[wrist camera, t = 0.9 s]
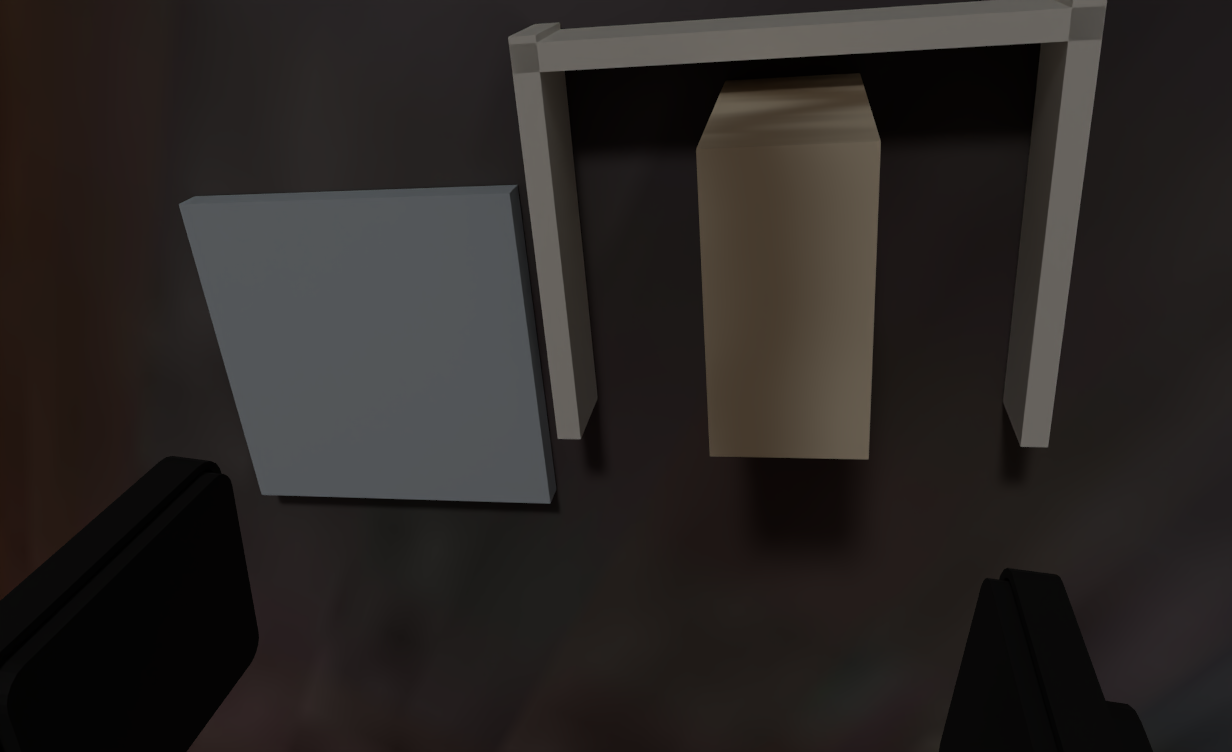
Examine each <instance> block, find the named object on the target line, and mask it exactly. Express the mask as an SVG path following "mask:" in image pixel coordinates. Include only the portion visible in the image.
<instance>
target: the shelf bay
mask: <svg viewBox="0 0 1232 752" xmlns="http://www.w3.org/2000/svg"><path fill="white" fill-rule="evenodd" d="M1106 5H1107V0H990V1H975V2H960V3H945V4H931V5H916V6H901V7H886V8H871V9H856V10H841V11H826V12H811V13H796V14H782V15H767V16H752V17H737V18H722V19H707V20H692V21H677V22H662V23H648V24H633V25H618V26H603V27H588V28H573V29H560V22H559V23H545V24H534V25H532V26H530V27H528V28H526V29H524V30H522V31H519V32H517V33H515V34H513V35H511V36H509V37H508V40H509V48H510V56H511V64H512V72H513V80H514V88H515V97H516V105H517V113H518V121H519V129H520V137H521V145H522V153H523V161H524V169H525V177H526V185H527V193H528V202H529V210H530V218H531V226H532V234H533V242H534V250H535V258H536V266H537V274H538V282H539V290H540V299H541V307H542V315H543V323H544V331H545V339H546V347H547V355H548V363H549V371H550V379H551V387H552V395H553V404H554V412H555V420H556V428H557V436H558V439H581V437H582V435H583V433H584V430H585V428H586V425H587V423H588V420H589V418H590V416H591V413H592V411H593V408H594V406H595V403H596V401H597V399H598V396H597V386H596V377H595V367H594V357H593V347H592V337H591V327H590V317H589V307H588V297H587V287H586V277H585V267H584V258H583V248H582V238H581V228H580V218H579V208H578V198H577V188H576V178H575V168H574V158H573V148H572V139H571V129H570V119H569V109H568V99H567V89H566V79H565V71H568V70H585V69H603V68H620V67H637V66H654V65H671V64H688V63H705V62H722V61H739V60H756V59H773V58H790V57H807V56H825V55H842V54H859V53H876V52H893V51H910V50H927V49H944V48H961V47H978V46H995V45H1012V44H1029V43H1041V48H1040V57H1039V67H1038V76H1037V86H1036V95H1035V104H1034V114H1033V123H1032V133H1031V142H1030V152H1029V161H1028V170H1027V180H1026V189H1025V199H1024V208H1023V217H1022V227H1021V236H1020V246H1019V255H1018V264H1017V274H1016V283H1015V293H1014V302H1013V311H1012V321H1011V330H1010V340H1009V349H1008V358H1007V368H1006V377H1005V387H1004V396H1003V403H1004V406H1005V408H1006V411H1007V413H1008V416H1009V419H1010V421H1011V424H1012V426H1013V429H1014V431H1015V434H1016V437H1017V439H1018V442H1019V444H1020V447H1048V443H1049V435H1050V428H1051V420H1052V413H1053V405H1054V398H1055V390H1056V383H1057V375H1058V367H1059V360H1060V352H1061V345H1062V337H1063V330H1064V322H1065V315H1066V307H1067V300H1068V292H1069V284H1070V277H1071V269H1072V262H1073V254H1074V247H1075V239H1076V232H1077V224H1078V216H1079V209H1080V201H1081V194H1082V186H1083V179H1084V171H1085V164H1086V156H1087V148H1088V141H1089V133H1090V126H1091V118H1092V111H1093V103H1094V96H1095V88H1096V81H1097V73H1098V65H1099V58H1100V50H1101V43H1102V35H1103V28H1104V20H1105V13H1106Z"/></svg>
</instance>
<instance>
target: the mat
mask: <svg viewBox="0 0 1232 752" xmlns="http://www.w3.org/2000/svg"><path fill="white" fill-rule="evenodd" d="M179 207H180V211H181V214H182V218H183V221H184V225H185V228H186V232H187V235H188V239H189V242H190V246H191V249H192V253H193V256H194V260H195V263H196V267H197V270H198V274H199V277H200V281H201V284H202V288H203V291H204V295H205V298H206V301H207V305H208V308H209V312H210V315H211V319H212V322H213V326H214V329H215V333H216V336H217V340H218V343H219V347H220V350H221V354H222V357H223V361H224V364H225V368H226V371H227V375H228V378H229V382H230V385H231V389H232V392H233V396H234V399H235V403H236V406H237V410H238V413H239V417H240V420H241V424H242V427H243V431H244V434H245V438H246V441H247V445H248V448H249V452H250V455H251V459H252V462H253V466H254V469H255V473H256V476H257V480H258V483H259V486H260V490H261V493H262V495H285V496H318V497H351V498H383V499H416V500H449V501H482V502H515V503H547V504H551V501H552V499H553V496H554V494H555V492H556V481H555V474H554V466H553V458H552V450H551V442H550V435H549V427H548V419H547V411H546V403H545V395H544V388H543V380H542V372H541V364H540V356H539V348H538V341H537V333H536V325H535V317H534V309H533V302H532V294H531V286H530V278H529V270H528V262H527V255H526V247H525V239H524V231H523V223H522V215H521V208H520V200H519V192H518V185H501V186H473V187H445V188H417V189H388V190H360V191H332V192H304V193H276V194H247V195H219V196H194V197H192V198H190V199H188V200H186V201H184V202H182V203H180V204H179Z"/></svg>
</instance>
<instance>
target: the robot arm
mask: <svg viewBox="0 0 1232 752" xmlns="http://www.w3.org/2000/svg"><path fill="white" fill-rule="evenodd" d="M258 640H259V634H258V627H257V621H256V616H255V610H254V605H253V599H252V594H251V588H250V582H249V577H248V571H247V566H246V560H245V555H244V549H243V543H242V538H241V532H240V527H239V521H238V516H237V510H236V504H235V499H234V493H233V488H232V484H231V480H230V479H229V477H228V476H226V475H224V474H221V471H220V468H219V467H218V466H217V464H216V463H214V462H212V461H206V460H198V459H191V458H183V457H176V456H170V457H166V458H164V459H163V460H161V461H160V462H159V463H158V464H156V465H155V466H154V467H153V468H152V469H151V470H150V471H148V472H147V473H146V474H145V475H144V476H143V477H142V478H140V479H139V480H138V481H137V482H136V483H135V484H134V485H132V486H131V487H130V488H129V489H128V490H127V491H126V492H124V493H123V494H122V495H121V496H120V497H119V498H118V499H116V500H115V501H114V502H113V503H112V504H111V505H109V506H108V507H107V508H106V509H105V510H104V511H103V512H101V513H100V514H99V515H98V516H97V517H96V518H95V519H93V520H92V521H91V522H90V523H89V524H88V525H87V526H85V527H84V528H83V529H82V530H81V531H80V532H79V533H77V534H76V535H75V536H74V537H73V538H72V539H71V540H69V541H68V542H67V543H66V544H65V545H64V546H63V547H61V548H60V549H59V550H58V551H57V552H56V553H55V554H53V555H52V556H51V557H50V558H49V559H48V560H47V561H45V562H44V563H43V564H42V565H41V566H40V567H39V568H37V569H36V570H35V571H34V572H33V573H32V574H30V575H29V576H28V577H27V578H26V579H25V580H24V581H22V582H21V583H20V584H19V585H18V586H17V587H16V588H14V589H13V590H12V591H11V592H10V593H9V594H8V595H6V596H5V597H4V598H3V599H2V600H1V601H0V752H187V750H188V749H189V747H190V746H191V745H192V743H193V742H194V741H195V739H196V738H197V736H198V735H199V734H200V732H201V731H202V730H203V728H204V727H205V725H206V724H207V723H208V721H209V720H210V719H211V717H212V716H213V714H214V713H215V712H216V710H217V709H218V708H219V706H220V705H221V703H222V702H223V701H224V699H225V698H226V697H227V695H228V694H229V692H230V691H231V690H232V688H233V687H234V686H235V684H236V683H237V681H238V680H239V679H240V677H241V676H242V675H243V673H244V672H245V670H246V669H247V668H248V666H249V665H250V663H251V662H252V660H253V658H254V656H255V653H256V650H257V647H258ZM939 752H1153V750H1152V748H1151V745H1150V743H1149V740H1148V738H1147V735H1146V733H1145V730H1144V728H1143V725H1142V723H1141V721H1140V719H1139V717H1138V715H1137V713H1136V711H1135V710H1134V709H1133V708H1132V707H1130V706H1129V705H1128V704H1123V703H1116V702H1110V701H1105V698H1104V695H1103V693H1102V690H1101V687H1100V684H1099V682H1098V679H1097V676H1096V673H1095V670H1094V668H1093V665H1092V662H1091V659H1090V657H1089V654H1088V651H1087V648H1086V646H1085V643H1084V640H1083V637H1082V634H1081V632H1080V629H1079V626H1078V623H1077V621H1076V618H1075V615H1074V612H1073V609H1072V607H1071V604H1070V601H1069V598H1068V596H1067V593H1066V590H1065V587H1064V585H1063V582H1062V580H1061V578H1060V577H1059V576H1058V575H1055V574H1048V573H1040V572H1033V571H1026V570H1018V569H1011V568H1006V569H1004V570H1003V572H1002V574H1001V576H1000V579H999V580H997V579H990V578H986V579H985V580H984V581H983V583H982V586H981V589H980V593H979V597H978V601H977V605H976V609H975V612H974V616H973V620H972V624H971V628H970V632H969V635H968V639H967V643H966V647H965V651H964V655H963V658H962V662H961V666H960V670H959V674H958V678H957V681H956V685H955V689H954V693H953V697H952V701H951V704H950V708H949V712H948V716H947V720H946V724H945V727H944V731H943V735H942V739H941V743H940V748H939Z"/></svg>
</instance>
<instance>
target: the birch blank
mask: <svg viewBox="0 0 1232 752" xmlns="http://www.w3.org/2000/svg"><path fill="white" fill-rule="evenodd" d="M880 150H881V140H880V137H879V134H878V131H877V127H876V124H875V121H874V117H873V114H872V111H871V108H870V104H869V101H868V98H867V95H866V91H865V88H864V85H863V82H862V78H861V75H860V73H852V74H834V75H815V76H797V77H779V78H761V79H742V80H725V83H724V85H723V87H722V90H721V92H720V94H719V97H718V99H717V101H716V104H715V106H714V108H713V111H712V113H711V115H710V118H709V120H708V123H707V125H706V127H705V130H704V132H703V134H702V137H701V139H700V141H699V144H698V146H697V148H696V156H697V178H698V201H699V223H700V245H701V268H702V290H703V312H704V335H705V357H706V379H707V401H708V424H709V446H710V456H721V457H772V458H822V459H869V434H870V408H871V382H872V356H873V330H874V305H875V279H876V253H877V227H878V201H879V175H880Z"/></svg>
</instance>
